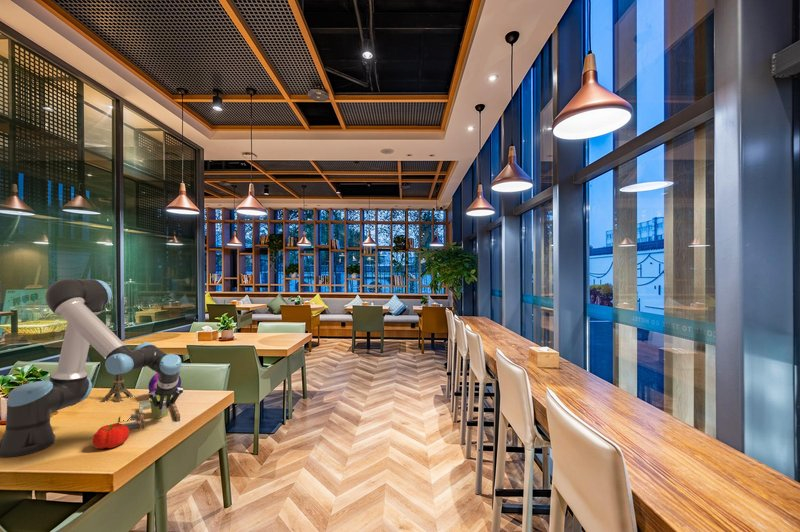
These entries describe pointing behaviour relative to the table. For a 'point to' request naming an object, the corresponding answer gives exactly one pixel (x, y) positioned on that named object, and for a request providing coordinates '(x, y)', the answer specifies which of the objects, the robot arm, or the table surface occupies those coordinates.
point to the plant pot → (155, 410)
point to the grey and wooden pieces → (142, 406)
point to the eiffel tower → (117, 389)
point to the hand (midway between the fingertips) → (163, 411)
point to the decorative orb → (153, 383)
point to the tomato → (110, 436)
